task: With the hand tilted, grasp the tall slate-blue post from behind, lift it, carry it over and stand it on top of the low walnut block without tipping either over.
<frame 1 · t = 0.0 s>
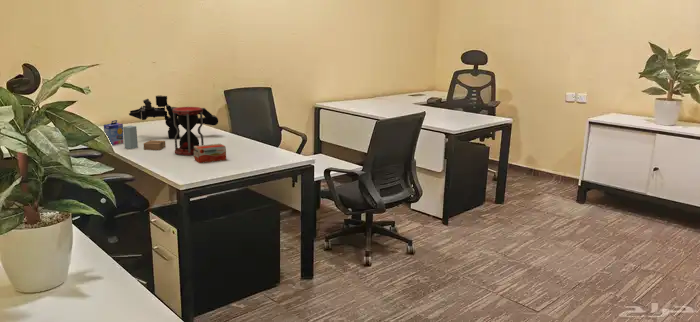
hand: (129, 113, 336), 17 cm above the table, tool horizontal, fingers open, 9 cm apart
walnut block: (154, 148, 318), on the table
ink cartridge box: (114, 144, 326), on the table
hourglass: (189, 152, 310), on the table
slate post: (131, 147, 318), on the table
medicine box: (210, 160, 294), on the table
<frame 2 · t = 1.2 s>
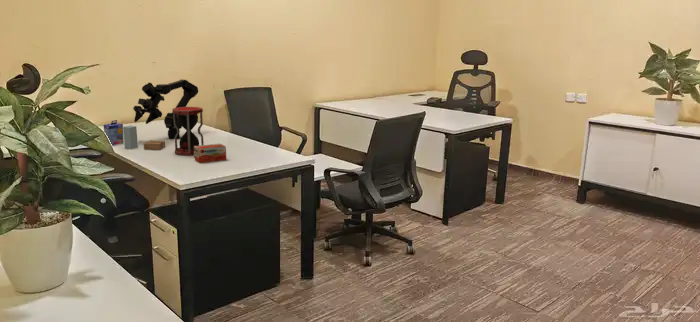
hand: (140, 122, 321), 14 cm above the table, tool tilted 45°, fingers open, 9 cm apart
nothing on the table moved.
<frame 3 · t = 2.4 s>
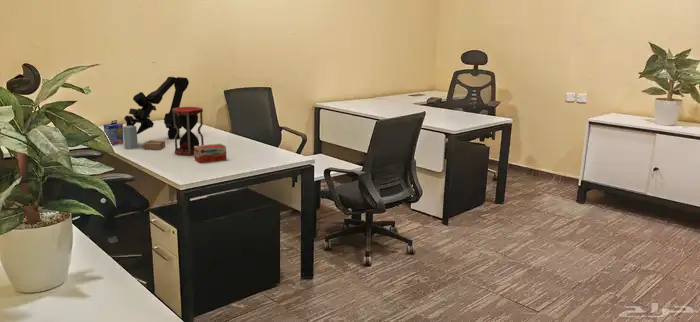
hand: (131, 132, 316), 9 cm above the table, tool tilted 45°, fingers open, 9 cm apart
nothing on the table moved.
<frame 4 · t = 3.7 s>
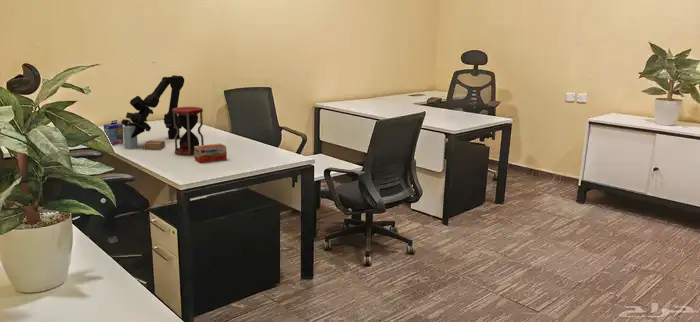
hand: (128, 137, 315), 7 cm above the table, tool tilted 45°, fingers closed on slate post, 5 cm apart
slate post: (131, 147, 318), on the table, touching gripper
everything else where it was.
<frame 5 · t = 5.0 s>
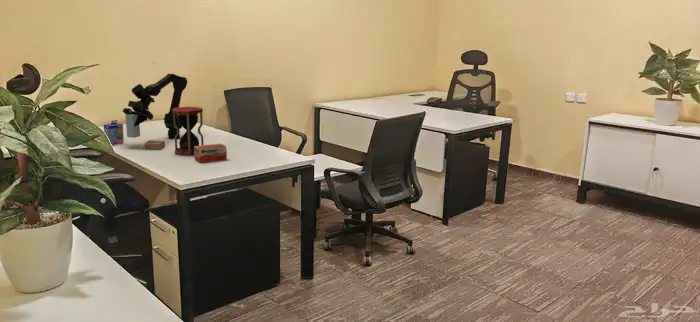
hand: (131, 125, 313), 13 cm above the table, tool tilted 45°, fingers closed on slate post, 5 cm apart
slate post: (133, 136, 316), point 7 cm above the table, touching gripper
everything else where it was.
when the fingers open (12 cm above the table, at t = 6.6 s): slate post drops 1 cm, resting on walnut block.
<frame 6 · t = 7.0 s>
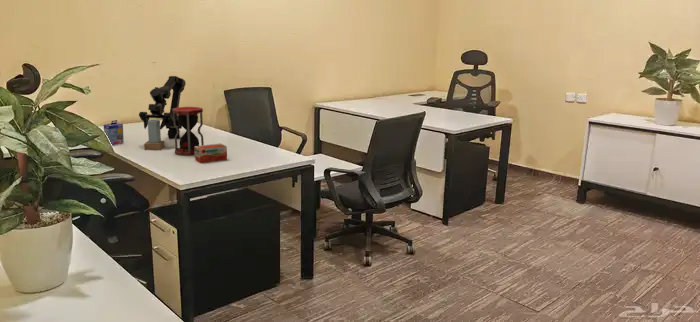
hand: (152, 128, 314), 12 cm above the table, tool tilted 45°, fingers open, 9 cm apart
walnut block: (154, 148, 318), on the table, touching slate post
slate post: (154, 142, 317), point 4 cm above the table, touching walnut block
everything else where it was.
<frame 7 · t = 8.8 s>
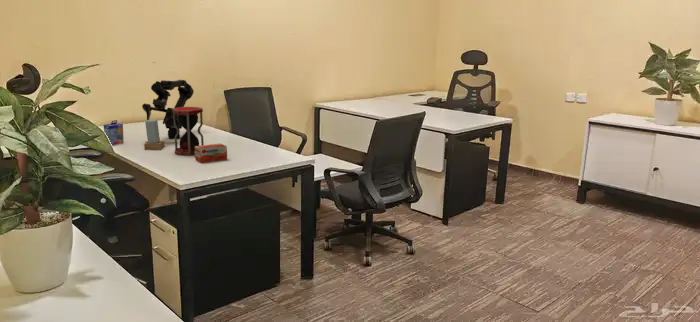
hand: (155, 122, 324), 13 cm above the table, tool tilted 35°, fingers open, 9 cm apart
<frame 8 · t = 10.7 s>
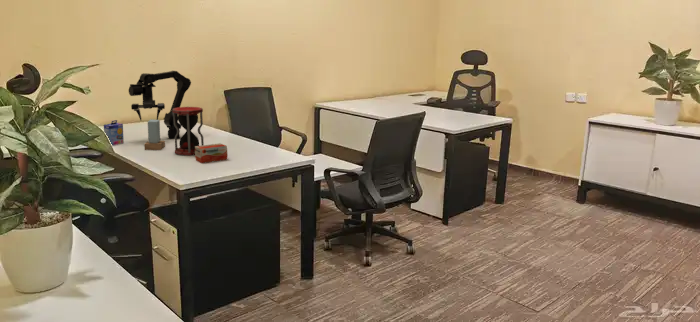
hand: (149, 120, 332), 13 cm above the table, tool pointing down, fingers open, 9 cm apart
at the end: slate post inside the target area on the walnut block (0.2 cm from its centre), point 4.2 cm above the walnut block's base; slate post tilted 3°; the gripper is holding nothing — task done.
